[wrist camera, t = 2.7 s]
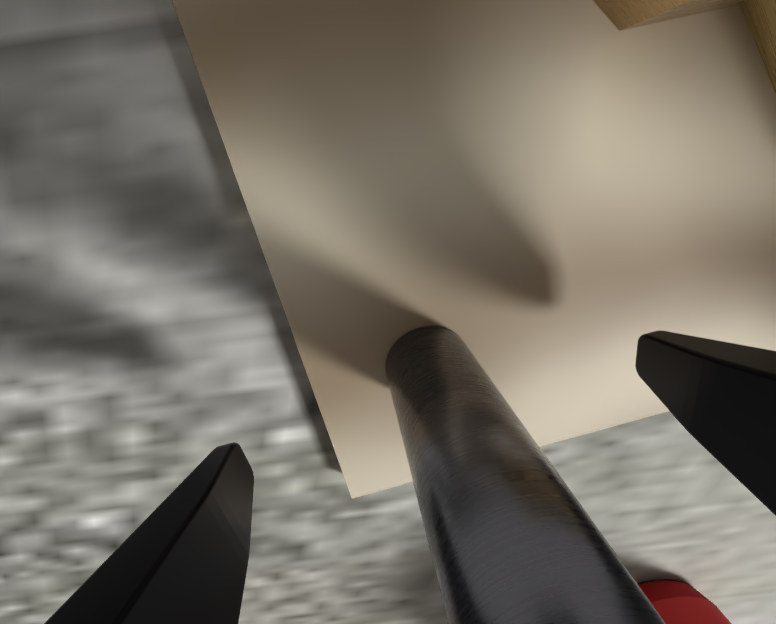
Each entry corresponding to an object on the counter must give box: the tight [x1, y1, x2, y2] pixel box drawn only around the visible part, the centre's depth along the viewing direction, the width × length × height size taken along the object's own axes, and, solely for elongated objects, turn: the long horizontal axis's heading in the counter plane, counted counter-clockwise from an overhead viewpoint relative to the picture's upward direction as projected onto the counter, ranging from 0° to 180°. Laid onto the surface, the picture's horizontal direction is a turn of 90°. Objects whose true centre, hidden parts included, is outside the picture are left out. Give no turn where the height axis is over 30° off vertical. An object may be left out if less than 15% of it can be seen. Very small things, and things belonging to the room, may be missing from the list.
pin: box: [385, 325, 666, 624], centre depth 6 cm, size 2×2×8 cm
